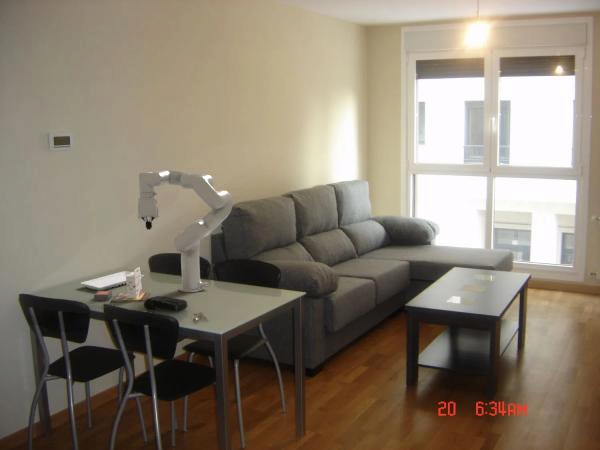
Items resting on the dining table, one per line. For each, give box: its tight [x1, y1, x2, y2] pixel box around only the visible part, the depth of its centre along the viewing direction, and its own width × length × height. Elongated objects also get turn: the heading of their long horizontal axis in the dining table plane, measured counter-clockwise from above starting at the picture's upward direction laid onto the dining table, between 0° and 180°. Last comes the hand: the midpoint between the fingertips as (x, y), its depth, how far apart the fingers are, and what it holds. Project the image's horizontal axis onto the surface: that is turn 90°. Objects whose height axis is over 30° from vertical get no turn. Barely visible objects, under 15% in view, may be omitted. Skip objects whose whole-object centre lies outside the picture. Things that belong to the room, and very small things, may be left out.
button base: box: [93, 290, 113, 302], centre depth 338 cm, size 7×7×3 cm
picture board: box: [110, 292, 151, 303], centre depth 339 cm, size 17×13×1 cm
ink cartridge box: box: [125, 266, 143, 299], centre depth 338 cm, size 9×5×15 cm, turn 173°
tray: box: [79, 270, 145, 291], centre depth 366 cm, size 17×32×4 cm, turn 145°
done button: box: [97, 290, 110, 295], centre depth 338 cm, size 5×5×2 cm
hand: (149, 229), depth 353 cm, fingers closed
